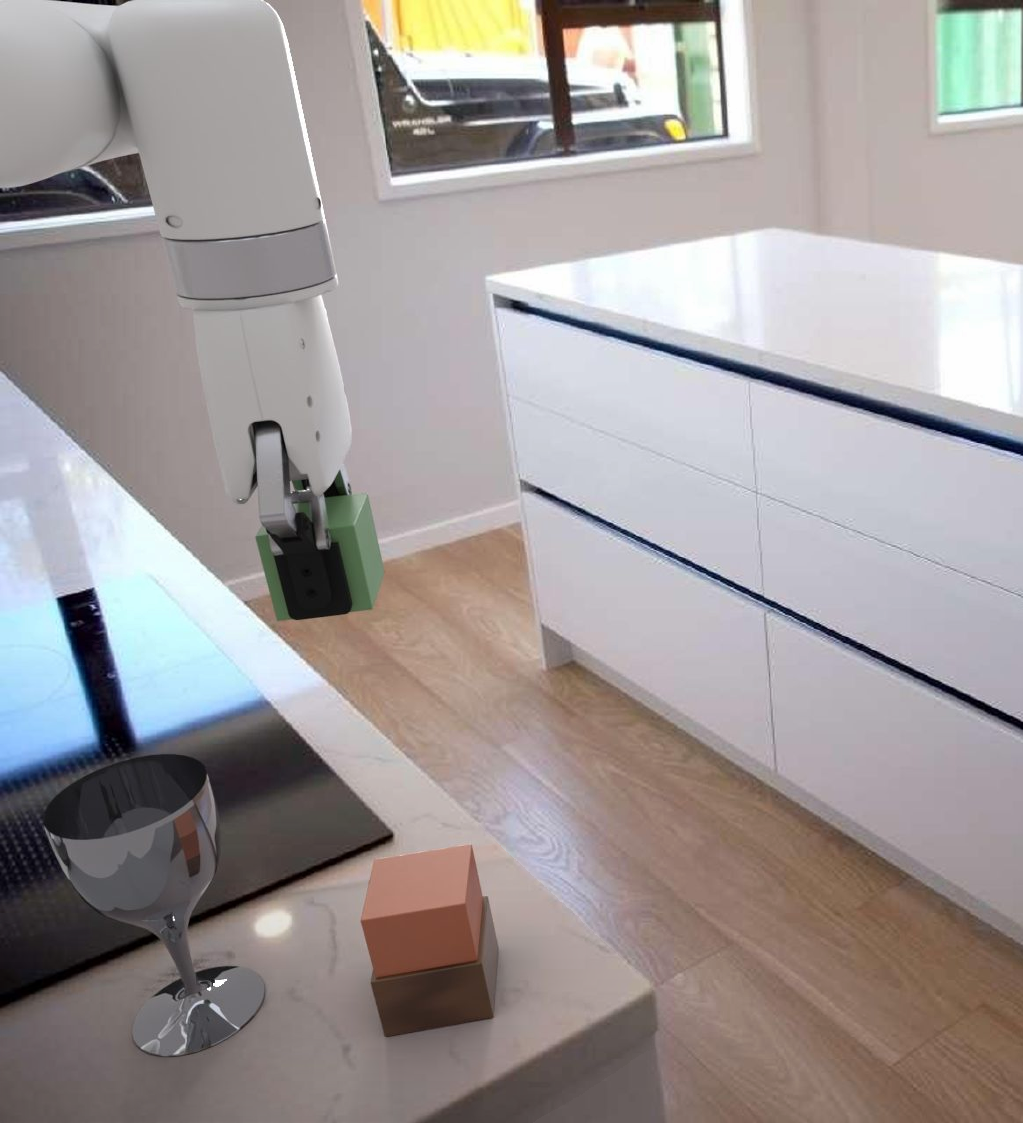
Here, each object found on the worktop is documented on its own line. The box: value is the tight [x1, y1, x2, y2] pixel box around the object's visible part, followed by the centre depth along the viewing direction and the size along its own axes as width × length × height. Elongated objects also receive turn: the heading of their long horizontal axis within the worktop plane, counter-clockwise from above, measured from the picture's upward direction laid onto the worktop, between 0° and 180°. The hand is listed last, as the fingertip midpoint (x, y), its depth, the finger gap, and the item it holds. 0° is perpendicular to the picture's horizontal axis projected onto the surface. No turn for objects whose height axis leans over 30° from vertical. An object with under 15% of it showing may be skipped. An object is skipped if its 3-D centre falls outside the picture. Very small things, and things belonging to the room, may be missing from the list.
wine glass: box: [42, 753, 266, 1057], centre depth 71 cm, size 8×8×15 cm
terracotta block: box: [360, 843, 484, 978], centre depth 72 cm, size 6×6×4 cm
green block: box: [255, 492, 386, 622], centre depth 70 cm, size 5×5×5 cm
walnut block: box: [369, 895, 499, 1037], centre depth 74 cm, size 6×6×4 cm
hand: (330, 589), depth 71 cm, fingers closed on green block, 5 cm apart
